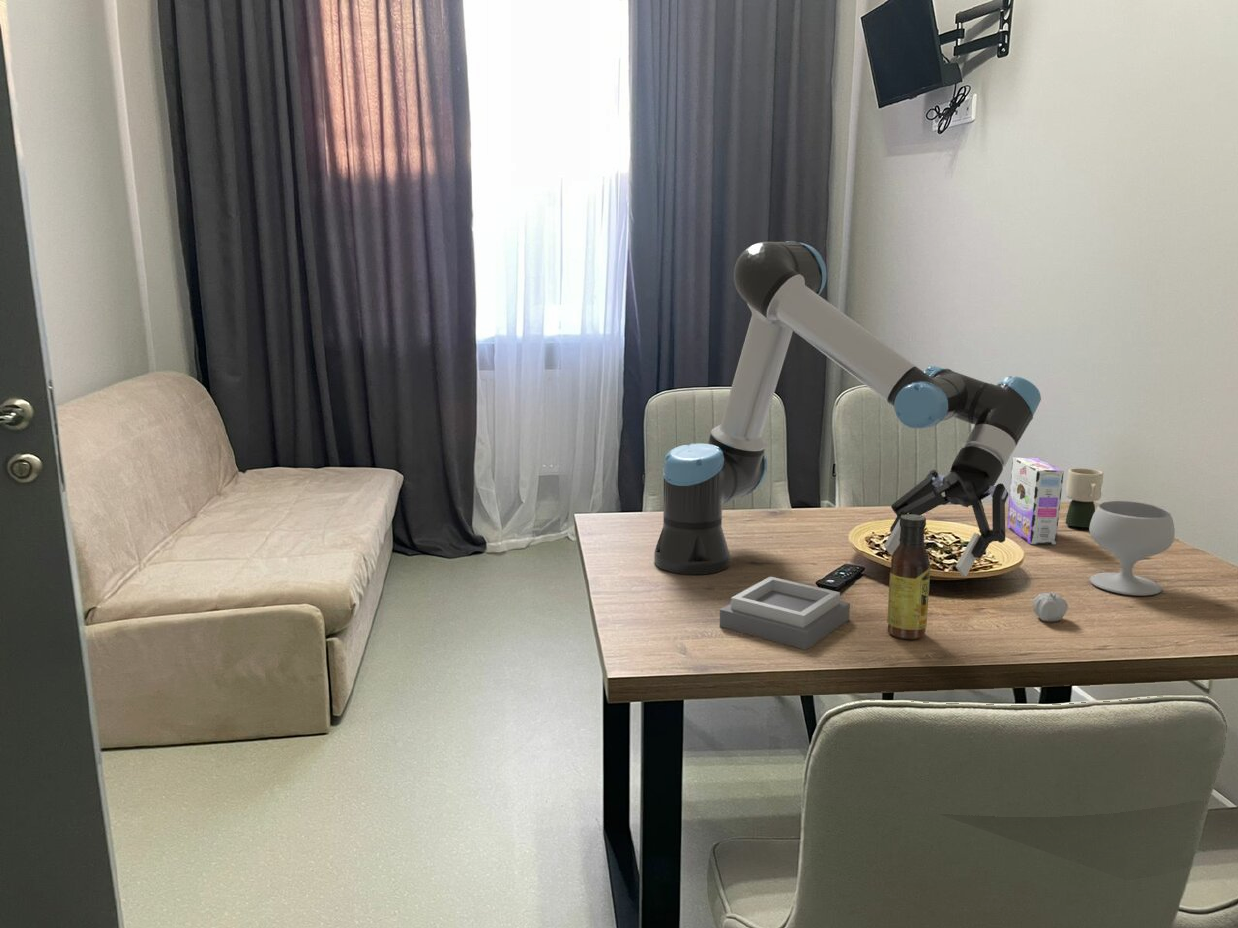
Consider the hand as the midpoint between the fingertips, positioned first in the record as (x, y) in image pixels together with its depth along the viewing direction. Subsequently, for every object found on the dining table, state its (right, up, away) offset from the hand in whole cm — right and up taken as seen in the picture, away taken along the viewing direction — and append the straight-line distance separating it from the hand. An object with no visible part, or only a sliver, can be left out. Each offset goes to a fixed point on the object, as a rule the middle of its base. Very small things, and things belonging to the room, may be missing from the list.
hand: (923, 561), depth 157 cm
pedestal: (-21, -11, +7) cm, 25 cm away
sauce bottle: (-2, -12, +2) cm, 13 cm away
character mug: (+55, +1, +63) cm, 84 cm away
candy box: (+41, 0, +56) cm, 69 cm away
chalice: (+46, -7, +24) cm, 52 cm away
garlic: (+24, -11, +9) cm, 28 cm away
